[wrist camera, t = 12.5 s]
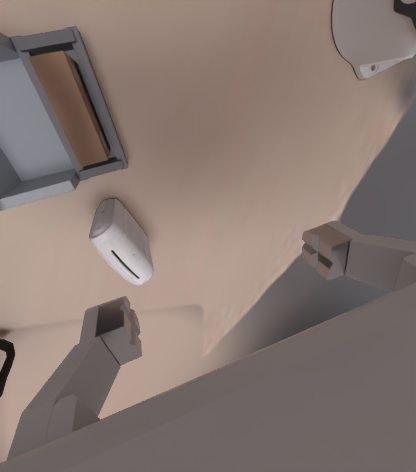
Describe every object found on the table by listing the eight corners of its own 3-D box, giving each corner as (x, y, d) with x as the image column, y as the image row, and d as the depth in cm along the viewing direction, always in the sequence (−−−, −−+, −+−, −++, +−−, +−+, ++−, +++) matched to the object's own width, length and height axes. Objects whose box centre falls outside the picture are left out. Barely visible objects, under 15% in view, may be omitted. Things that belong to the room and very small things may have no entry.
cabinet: (81, 35, 28) (68, 14, 22) (127, 161, 36) (128, 175, 29) (-63, 60, 26) (-128, 45, 19) (20, 190, 34) (-5, 211, 27)
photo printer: (91, 206, 38) (79, 246, 27) (115, 192, 38) (112, 226, 27) (131, 251, 43) (133, 298, 33) (151, 239, 43) (160, 281, 33)
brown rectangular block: (77, 62, 28) (64, 50, 22) (111, 148, 34) (108, 159, 27) (50, 67, 28) (27, 56, 21) (89, 154, 33) (80, 167, 27)
